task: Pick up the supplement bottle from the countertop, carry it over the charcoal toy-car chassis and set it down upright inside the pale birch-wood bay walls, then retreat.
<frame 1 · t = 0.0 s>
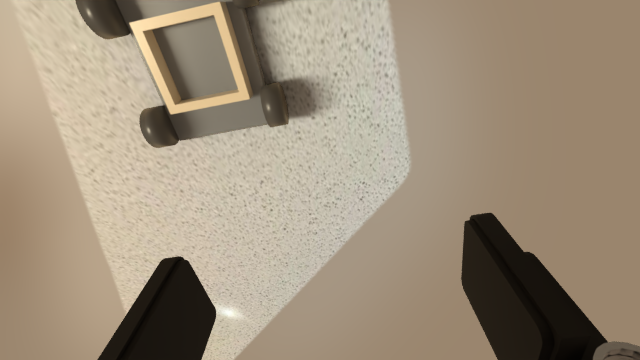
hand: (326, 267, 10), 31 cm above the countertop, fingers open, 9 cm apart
toy chassis: (203, 58, 36), on the countertop
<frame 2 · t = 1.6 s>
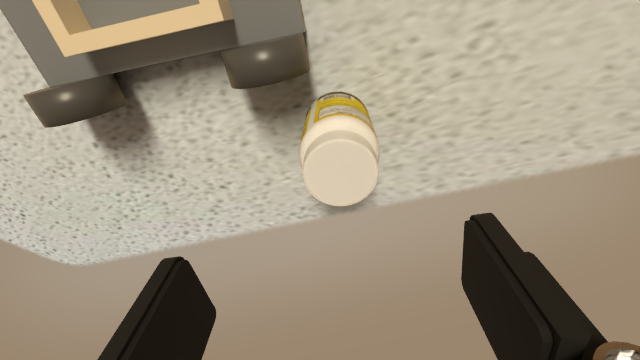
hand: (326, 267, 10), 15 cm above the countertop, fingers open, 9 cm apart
supplement bottle: (337, 120, 23), on the countertop
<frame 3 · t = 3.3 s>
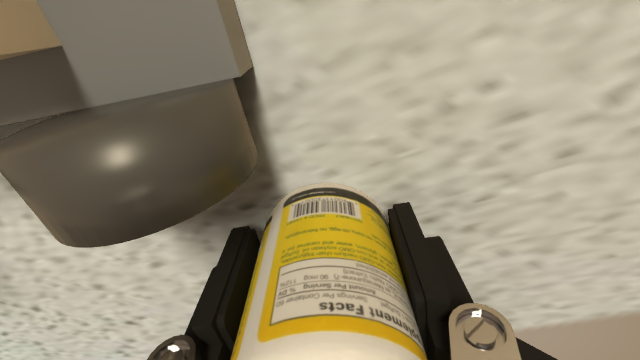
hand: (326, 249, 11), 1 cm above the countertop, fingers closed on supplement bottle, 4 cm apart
supplement bottle: (326, 227, 12), on the countertop, touching gripper
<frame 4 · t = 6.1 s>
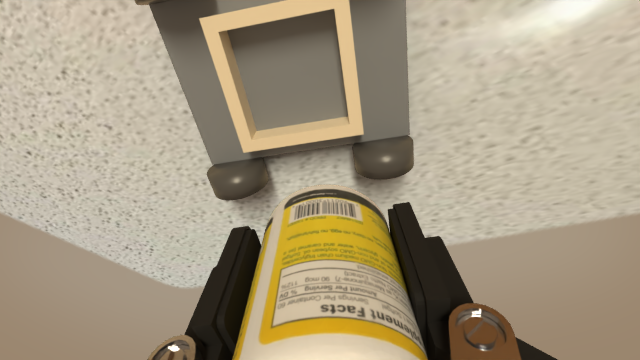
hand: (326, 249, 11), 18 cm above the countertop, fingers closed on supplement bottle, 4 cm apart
toy chassis: (293, 72, 25), on the countertop
supplement bottle: (327, 228, 12), point 17 cm above the countertop, touching gripper
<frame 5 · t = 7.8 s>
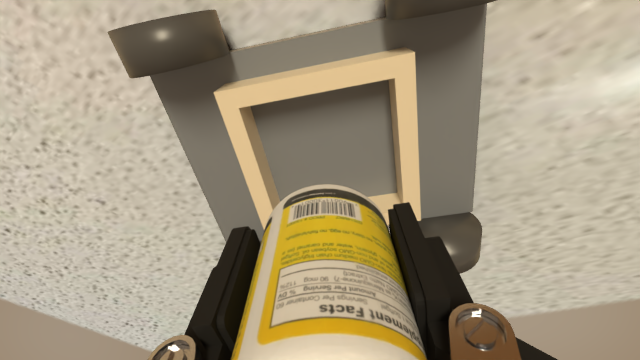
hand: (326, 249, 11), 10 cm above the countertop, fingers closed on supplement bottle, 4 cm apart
toy chassis: (328, 139, 20), on the countertop
supplement bottle: (326, 228, 12), point 9 cm above the countertop, touching gripper
when the fingers open (5 cm above the countertop, at t = 9.2 s): supplement bottle drops 2 cm, resting on toy chassis.
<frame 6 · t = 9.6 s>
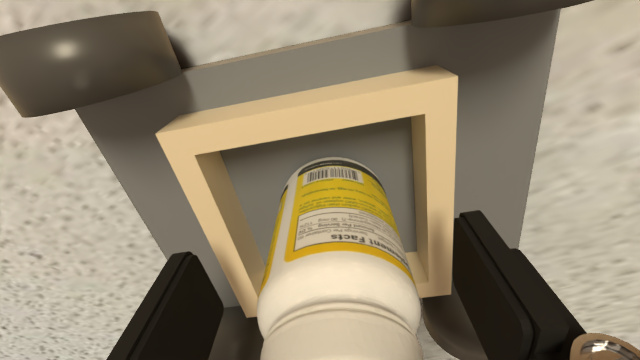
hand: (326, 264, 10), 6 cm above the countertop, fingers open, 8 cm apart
toy chassis: (326, 182, 15), on the countertop
supplement bottle: (333, 197, 14), point 1 cm above the countertop, touching toy chassis
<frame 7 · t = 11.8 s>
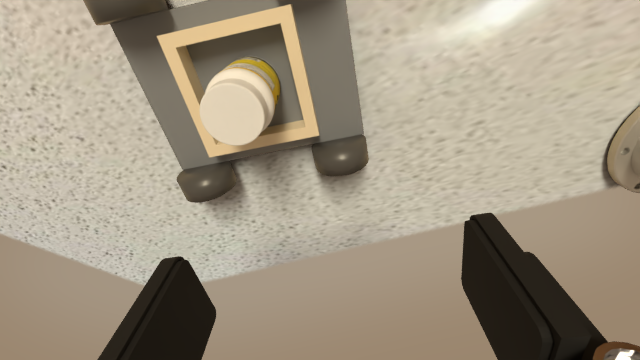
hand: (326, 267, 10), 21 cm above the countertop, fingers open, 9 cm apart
toy chassis: (252, 80, 27), on the countertop
supplement bottle: (254, 84, 26), point 1 cm above the countertop, touching toy chassis
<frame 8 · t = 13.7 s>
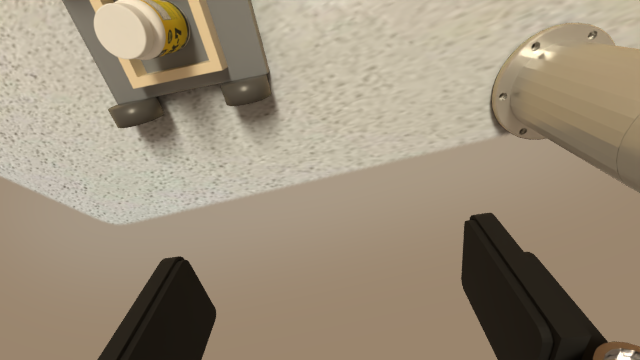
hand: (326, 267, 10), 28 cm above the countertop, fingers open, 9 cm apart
toy chassis: (171, 24, 32), on the countertop
supplement bottle: (169, 26, 31), point 1 cm above the countertop, touching toy chassis
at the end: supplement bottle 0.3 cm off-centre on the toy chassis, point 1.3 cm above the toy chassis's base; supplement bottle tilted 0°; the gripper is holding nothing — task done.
